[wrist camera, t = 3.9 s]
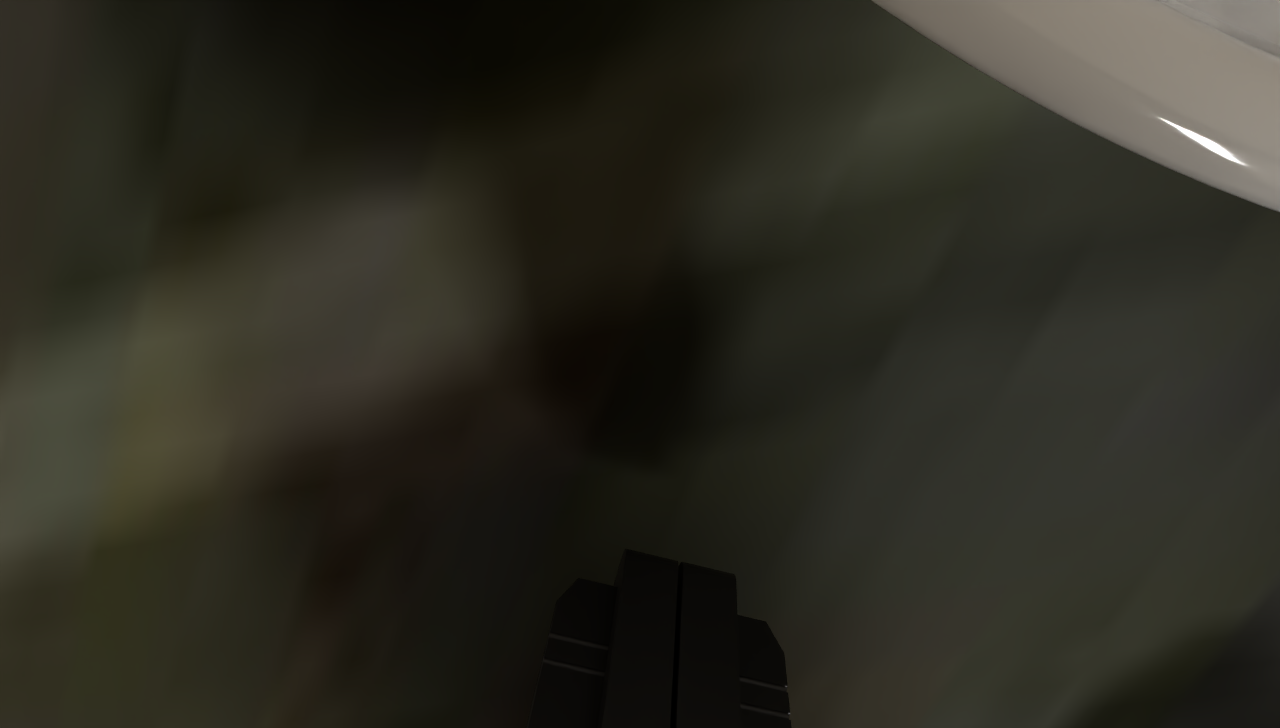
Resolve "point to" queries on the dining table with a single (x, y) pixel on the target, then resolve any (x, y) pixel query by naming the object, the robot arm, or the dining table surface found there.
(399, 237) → the dining table surface
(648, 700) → the robot arm
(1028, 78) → the white cup
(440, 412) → the dining table surface
